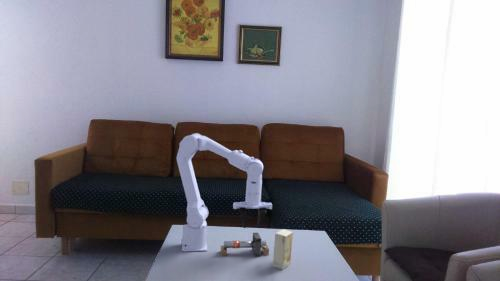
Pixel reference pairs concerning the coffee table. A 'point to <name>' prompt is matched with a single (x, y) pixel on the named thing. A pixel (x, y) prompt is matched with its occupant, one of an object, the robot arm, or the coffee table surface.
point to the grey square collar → (257, 244)
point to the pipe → (243, 246)
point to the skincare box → (282, 249)
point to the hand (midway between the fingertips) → (251, 226)
